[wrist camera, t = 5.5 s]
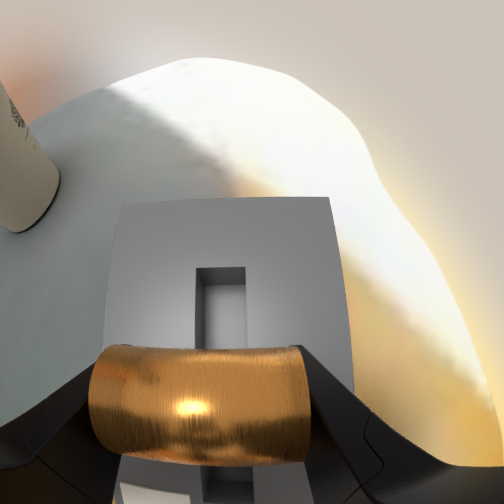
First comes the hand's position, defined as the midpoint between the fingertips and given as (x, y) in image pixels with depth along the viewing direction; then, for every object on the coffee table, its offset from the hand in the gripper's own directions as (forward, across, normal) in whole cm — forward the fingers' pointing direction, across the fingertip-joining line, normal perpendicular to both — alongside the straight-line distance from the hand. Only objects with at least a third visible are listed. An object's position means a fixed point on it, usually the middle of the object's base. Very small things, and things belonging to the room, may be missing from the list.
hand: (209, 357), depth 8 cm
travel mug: (+15, +20, -4) cm, 25 cm away
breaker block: (+4, 0, +7) cm, 8 cm away
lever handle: (+4, 0, +6) cm, 7 cm away
